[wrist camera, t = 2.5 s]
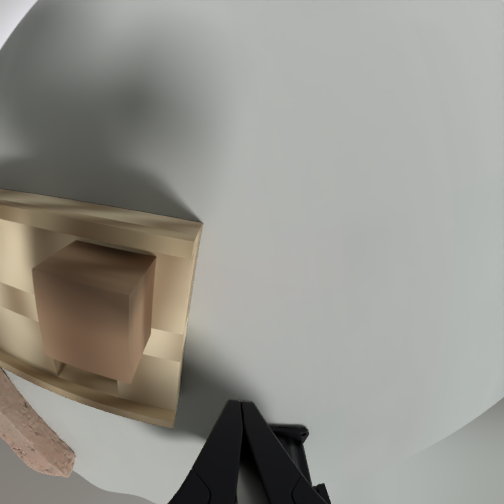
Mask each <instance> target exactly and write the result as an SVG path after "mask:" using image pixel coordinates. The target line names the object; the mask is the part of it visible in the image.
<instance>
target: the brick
mask: <svg viewBox="0 0 504 504" xmlns="http://www.w3.org/2000/svg"><path fill="white" fill-rule="evenodd" d="M0 437H1V438H2V439H3V440H5V441H6V442H7V443H8V444H9V446H10V447H11V448H12V450H13V451H14V452H15V453H16V454H17V456H18V457H20V458H21V459H22V460H23V462H24V463H25V464H26V465H28V466H29V467H30V468H32V469H33V470H35V471H38V472H40V473H45V474H49V475H56V476H59V475H60V476H63V477H66V478H67V477H69V476H70V474H71V471H72V469H73V465H74V461H75V460H74V459H75V454H74V453H73V452H72V450H71V449H70V448H69V447H68V446H67V445H66V444H65V442H64V441H62V440H61V439H60V438H59V437H58V435H57V434H56V433H54V432H53V431H52V429H51V428H50V427H49V426H48V425H47V424H46V423H45V422H44V421H43V419H42V418H41V417H40V416H39V415H38V414H37V413H36V412H35V410H34V409H33V408H32V407H31V406H30V405H29V404H28V402H27V401H26V400H25V399H24V397H23V396H22V395H21V394H20V393H19V391H18V390H17V389H16V387H15V386H14V384H13V383H12V382H11V380H10V379H9V378H8V376H7V375H6V374H5V373H4V372H3V370H2V369H1V367H0Z"/></svg>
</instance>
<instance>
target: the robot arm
mask: <svg viewBox="0 0 504 504" xmlns="http://www.w3.org/2000/svg"><path fill="white" fill-rule="evenodd" d="M308 435H309V431H308V429H306V428H273V427H269V426H268V424H267V423H266V421H265V419H264V418H263V416H262V415H261V413H260V412H259V410H258V409H257V407H256V406H255V404H254V403H253V402H252V401H244V400H242V401H240V400H236V399H228V400H227V402H226V404H225V406H224V408H223V410H222V412H221V414H220V416H219V418H218V420H217V422H216V423H215V425H214V427H213V429H212V431H211V433H210V435H209V437H208V439H207V441H206V443H205V444H204V446H203V448H202V450H201V452H200V454H199V456H198V457H197V459H196V461H195V463H194V465H193V467H192V469H191V470H190V472H189V474H188V475H187V477H186V479H185V481H184V482H183V484H182V485H181V487H180V489H179V490H178V491H177V493H176V494H175V495H174V496H173V498H172V499H171V500H170V501H169V503H168V504H331V502H330V499H329V496H328V493H327V490H326V487H325V484H324V483H322V484H318V485H317V486H313V487H312V482H311V478H310V473H309V469H308V464H307V460H306V455H305V451H304V446H303V443H304V442H305V440H306V438H307V437H308Z"/></svg>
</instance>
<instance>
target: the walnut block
mask: <svg viewBox="0 0 504 504" xmlns="http://www.w3.org/2000/svg"><path fill="white" fill-rule="evenodd" d="M156 258H157V257H155V256H150V255H145V254H140V253H135V252H130V251H125V250H121V249H116V248H111V247H106V246H102V245H97V244H92V243H88V242H83V241H79V240H75V241H74V242H72V243H71V244H69V245H67V246H66V247H64V248H63V249H61V250H59V251H58V252H56V253H55V254H53V255H52V256H50V257H49V258H47V259H46V260H44V261H43V262H41V263H40V264H38V265H37V266H35V267H34V268H32V278H33V287H34V295H35V302H36V309H37V315H38V320H39V326H40V331H41V336H42V341H43V345H44V349H45V353H46V356H48V357H50V358H53V359H55V360H58V361H60V362H63V363H66V364H68V365H71V366H74V367H77V368H80V369H83V370H86V371H89V372H92V373H95V374H98V375H101V376H104V377H108V378H111V379H114V380H118V381H122V382H125V383H129V384H131V382H132V379H133V377H134V374H135V372H136V369H137V367H138V364H139V362H140V359H141V357H142V354H143V352H144V349H145V347H146V345H147V342H148V340H149V337H150V335H151V322H152V305H153V291H154V279H155V268H156Z"/></svg>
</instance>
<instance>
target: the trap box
mask: <svg viewBox="0 0 504 504" xmlns="http://www.w3.org/2000/svg"><path fill="white" fill-rule="evenodd" d="M202 226H203V223H200V222H195V221H190V220H184V219H179V218H173V217H168V216H162V215H157V214H151V213H146V212H140V211H134V210H129V209H123V208H117V207H111V206H106V205H100V204H94V203H88V202H82V201H76V200H70V199H63V198H57V197H51V196H44V195H38V194H31V193H25V192H18V191H11V190H5V189H0V366H1V367H2V368H4V369H6V370H8V371H10V372H12V373H14V374H16V375H17V376H19V377H21V378H23V379H25V380H27V381H30V382H32V383H34V384H36V385H38V386H40V387H42V388H45V389H47V390H49V391H52V392H54V393H56V394H59V395H61V396H64V397H66V398H69V399H71V400H74V401H77V402H79V403H82V404H85V405H88V406H91V407H94V408H97V409H100V410H103V411H106V412H109V413H112V414H116V415H119V416H123V417H126V418H130V419H134V420H137V421H141V422H145V423H150V424H154V425H159V426H163V427H168V428H173V427H174V422H175V416H176V411H177V405H178V400H179V395H180V385H181V375H182V366H183V357H184V348H185V339H186V331H187V323H188V316H189V308H190V301H191V294H192V287H193V281H194V274H195V268H196V261H197V255H198V249H199V243H200V237H201V231H202ZM75 240H79V241H83V242H88V243H92V244H97V245H102V246H106V247H111V248H116V249H121V250H125V251H130V252H135V253H140V254H145V255H150V256H155V257H157V258H156V268H155V279H154V291H153V305H152V322H151V335H150V337H149V340H148V342H147V345H146V347H145V349H144V352H143V354H142V357H141V359H140V362H139V364H138V367H137V369H136V372H135V374H134V377H133V379H132V382H131V384H129V383H125V382H122V381H118V380H114V379H111V378H108V377H104V376H101V375H98V374H95V373H92V372H89V371H86V370H83V369H80V368H77V367H74V366H71V365H68V364H66V363H63V362H60V361H58V360H55V359H53V358H50V357H48V356H46V353H45V349H44V345H43V341H42V336H41V331H40V326H39V320H38V315H37V309H36V302H35V295H34V287H33V278H32V268H34V267H35V266H37V265H38V264H40V263H41V262H43V261H44V260H46V259H47V258H49V257H50V256H52V255H53V254H55V253H56V252H58V251H59V250H61V249H63V248H64V247H66V246H67V245H69V244H71V243H72V242H74V241H75Z"/></svg>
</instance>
